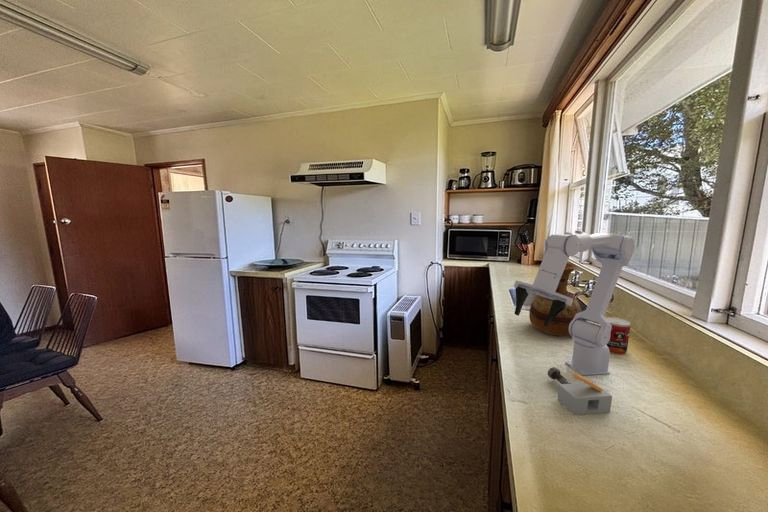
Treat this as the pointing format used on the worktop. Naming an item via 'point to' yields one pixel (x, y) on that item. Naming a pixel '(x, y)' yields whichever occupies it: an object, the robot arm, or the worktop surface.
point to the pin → (557, 376)
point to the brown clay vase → (543, 305)
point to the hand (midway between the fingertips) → (530, 320)
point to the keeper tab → (587, 381)
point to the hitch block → (584, 399)
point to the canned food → (618, 335)
